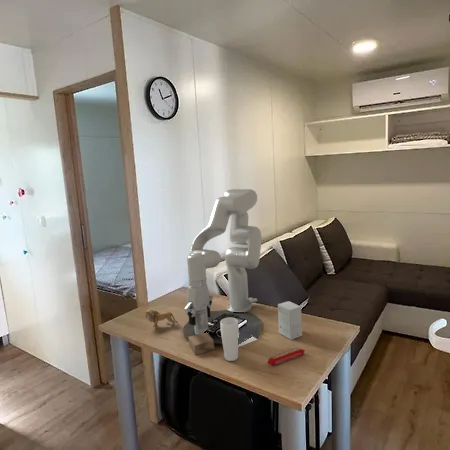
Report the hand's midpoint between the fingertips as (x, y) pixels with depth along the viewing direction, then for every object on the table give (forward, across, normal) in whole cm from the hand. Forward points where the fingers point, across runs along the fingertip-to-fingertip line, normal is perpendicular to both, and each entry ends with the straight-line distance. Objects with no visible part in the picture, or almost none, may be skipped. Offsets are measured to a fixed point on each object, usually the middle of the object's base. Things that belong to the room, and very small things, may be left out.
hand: (200, 320), depth 157 cm
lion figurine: (+7, +3, -22) cm, 23 cm away
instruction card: (+6, -4, +17) cm, 19 cm away
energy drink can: (+7, -1, 0) cm, 7 cm away
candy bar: (+7, -2, +40) cm, 41 cm away
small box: (+6, -20, +33) cm, 39 cm away
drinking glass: (+7, +8, +22) cm, 25 cm away
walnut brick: (+7, +8, +8) cm, 13 cm away
